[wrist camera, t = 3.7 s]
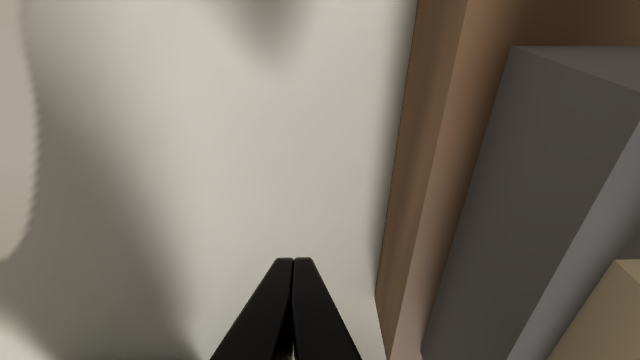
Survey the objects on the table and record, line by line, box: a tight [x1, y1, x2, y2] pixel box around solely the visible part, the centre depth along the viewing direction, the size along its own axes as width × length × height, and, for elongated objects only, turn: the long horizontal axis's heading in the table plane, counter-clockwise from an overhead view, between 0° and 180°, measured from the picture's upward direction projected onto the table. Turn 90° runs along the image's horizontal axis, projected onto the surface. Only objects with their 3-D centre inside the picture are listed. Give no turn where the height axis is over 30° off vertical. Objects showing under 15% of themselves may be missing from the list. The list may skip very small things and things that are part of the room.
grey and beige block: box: [420, 46, 640, 360], centre depth 7 cm, size 3×10×5 cm, turn 179°
